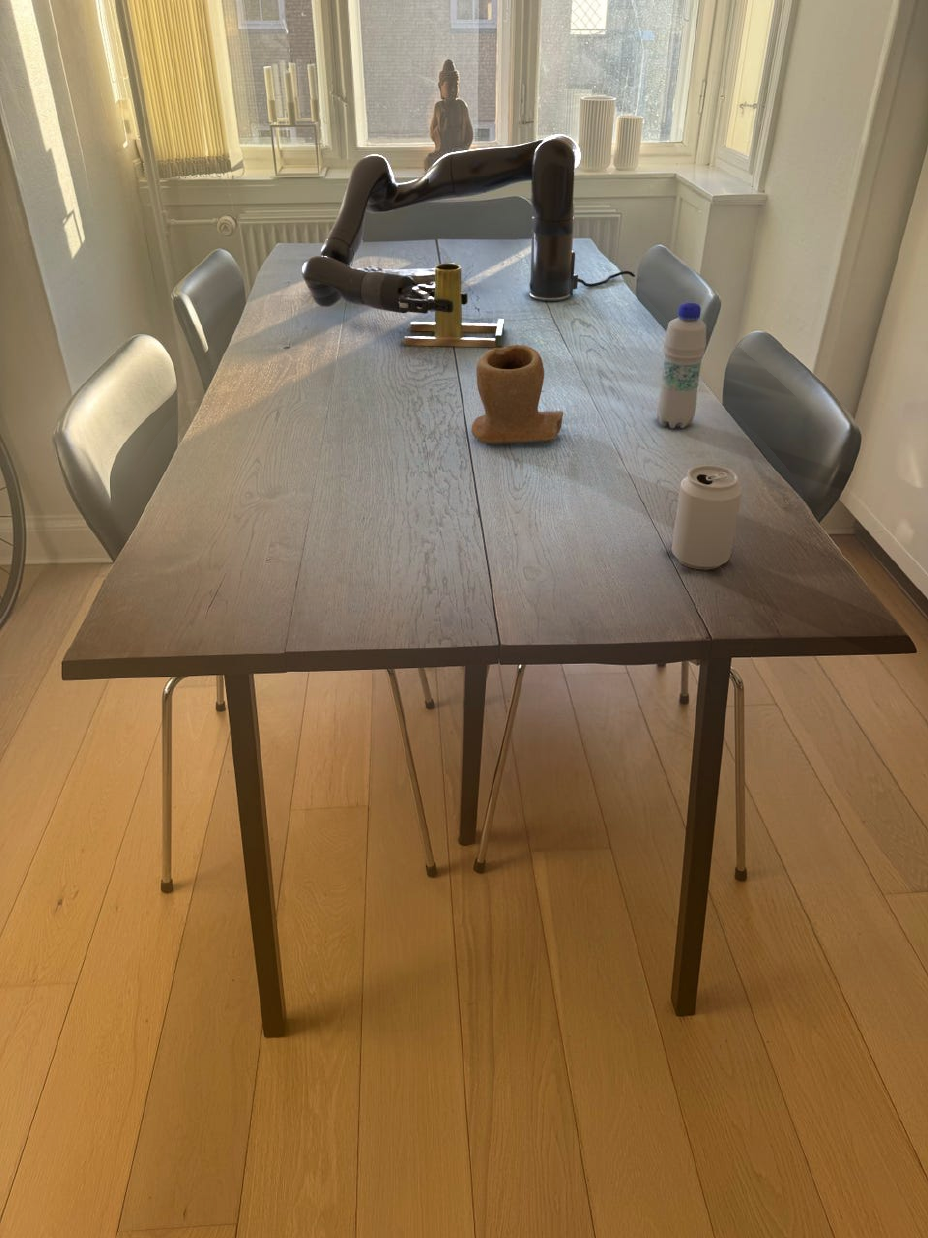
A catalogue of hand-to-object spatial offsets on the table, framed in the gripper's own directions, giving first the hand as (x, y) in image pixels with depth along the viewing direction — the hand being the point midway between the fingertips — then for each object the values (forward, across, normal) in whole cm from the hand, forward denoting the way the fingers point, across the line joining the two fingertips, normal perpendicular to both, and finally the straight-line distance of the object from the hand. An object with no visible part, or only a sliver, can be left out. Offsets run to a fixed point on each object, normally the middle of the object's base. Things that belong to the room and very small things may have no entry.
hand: (459, 302), depth 190 cm
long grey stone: (-34, +27, +8) cm, 44 cm away
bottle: (+52, -21, +8) cm, 57 cm away
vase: (-3, 0, +8) cm, 8 cm away
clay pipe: (+32, -39, +8) cm, 51 cm away
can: (+69, -62, +8) cm, 92 cm away
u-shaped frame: (-2, 0, +8) cm, 8 cm away
